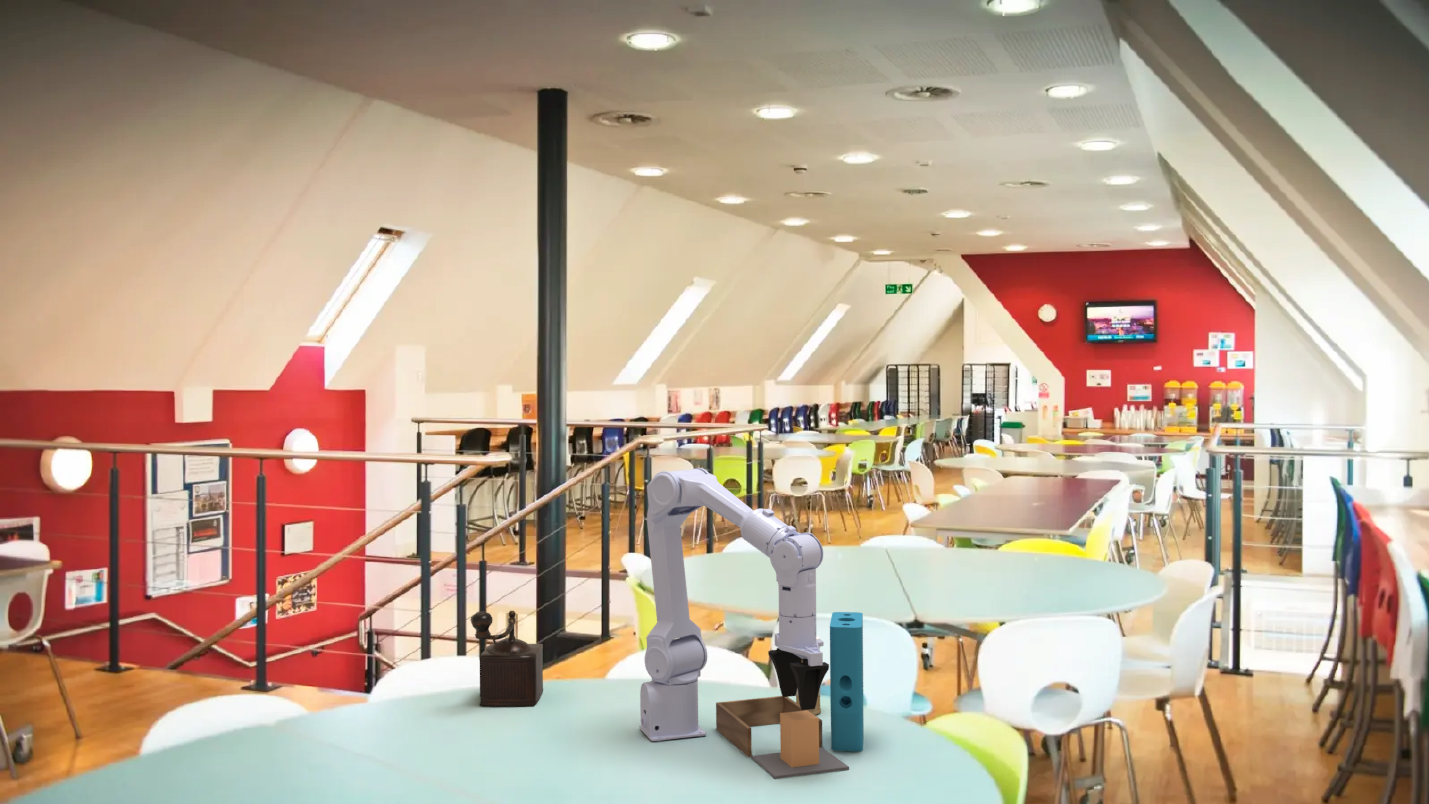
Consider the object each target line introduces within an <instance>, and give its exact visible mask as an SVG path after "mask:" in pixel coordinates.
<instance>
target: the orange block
mask: <svg viewBox="0 0 1429 804" xmlns="http://www.w3.org/2000/svg"><path fill="white" fill-rule="evenodd" d="M816 716H817V715H813V714H812V713H810V712H809V711H807V710H805V711H796V712H787V713H780V723H779V726H780V727H779V728H780V729H779V730H780V731H779V733H780V738H779V741H780V744H779V745H780V752H781V759H782V760H783V761H784V762H786V763H787V764H788V765H789V766H791V767H799V766H807V765H815V764H819V718H820V717H819V716H817V717H816Z"/></svg>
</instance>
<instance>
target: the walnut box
mask: <svg viewBox="0 0 1429 804" xmlns="http://www.w3.org/2000/svg"><path fill="white" fill-rule="evenodd" d="M796 711H805V710H802V709H801V707H800V705H799V704H797V703H796V701H794V700H793V699H791V698H790V697H783V696H782V695H778V696H768V697H758V698H748V699H739V700H738V699H737V700H727V701H719V702H716V703H715V716H716V717H715V722H716V723H715V726H716V728H715V730H717V731H718V732H719V733H720V734H721V735H722V736H723V737H724V738H726V739H727V741H728V742H730V743H731V744H732V745H733V746H735V747H736V748H737V749H738V750H739V751H741V753H743V755H745V756H746V757H747V758H751V756H753V754H752V752H753V751H752V727H758V726H766V725H767V726H768V725H775V724H776V725H777V724H780V713H787V712H796ZM807 711H808V710H807ZM810 713H811V712H810ZM813 715H814V714H813ZM815 716H816V717H818V716H817V715H815ZM818 718H819V748H821V747H823V720H822V719H821V718H820V717H818Z"/></svg>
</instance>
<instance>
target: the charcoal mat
mask: <svg viewBox="0 0 1429 804" xmlns="http://www.w3.org/2000/svg"><path fill="white" fill-rule="evenodd" d="M750 758H751V760H752V761H754V762H755V764H756V763H757V765H758V766H759V767H761V768H762V770H764V771H765V772H766V773H767V774H768V775H770V776H771V777H772V778H773V779H775V780H776V779H784V778H793V777H801V776H802V777H803V776H807V775H808V776H809V775H816V774H817V775H818V774H824V773H830V772H831V773H832V772H839V771H849V770H850V766H849V765H848V764H846V763H845V762H844V761H842V760H841V759H839V758H837V756H835V755H834V754H832V753H831V752H830V751H828V750H827V749H826V748H824V747H823V746H822V747H821V748H819V764H815V765H807V766H799V767H791V766H789V765H788V764H787V763H786V762H784V761H783V760H782V759H781V751H779V752H772V753H770V752H769V753H764V754H755V755H753V754H752V756H751V757H750Z"/></svg>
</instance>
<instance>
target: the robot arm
mask: <svg viewBox="0 0 1429 804" xmlns="http://www.w3.org/2000/svg"><path fill="white" fill-rule="evenodd" d="M646 493H647V501H648V509H647V514H646V524H647V525H646V526H647V532H648V544H649V555H650V564H651V565H650V566H651V573H652V574H651V575H652V582H653V593H654V605H655V614H656V623H655V625H654V626H653V627H652V629H651V630H650V631H649V633H648V634H647V636H646V637H645V639H646V649H645V655H644V666H645V670H646V671H647V674H648V675H649V677H650V678H651V680H649V681H645V682H643V683H641V686H640V691H639V692H640V694H639V695H640V700H639V701H640V704H639V705H640V726H639V729H640V730H641V731H642V732H643V734H644V735H646V737H647V738H648V739H649V740H650V741H651V742H658V741H659V742H660V741H667V740H674V739H675V740H676V739H683V738H684V739H686V738H695V737H702V736H703V737H704V736H706V735H707V731H705V730H704V729H703V728H702V727H701V726H700V725H699V678H700V677H701V675H702V674H701V671H702V670H704V668H705V667H706V664H707V662H708V650H707V646H706V644H705V642H704V641H703V637H702V631H701V628H700V627H699V626H698V625H697V624H696V623H695V622H693V620H691V618H690V609H689V599H688V598H689V597H688V588H687V581H686V579H687V578H686V570H685V559H684V558H685V557H684V550H683V541H682V531H681V527H682V525H683V523H684V522H685V521H686V520H687V518H688V517H689V516H690V515H691V514H692V513H694V512H696V511H697V510H699V509H701V508H702V507H706V508H708V509H710V510H711V511H713V512H714V513H716V514H717V515H719V516H721V517H722V518H723V519H725V520H726V521H729V522H730V523H731V524H733V525H735V526H737V527H738V528H739V529H740V535H741V538H742V540H744V541H746V543H748V544H750V545H751V546H753V547H754V548H755V549H756V550H758V551H760V552H761V553H763V554H764V555H765V556H766V557H768V558H769V560H770V564H771V566H772V568H773V569H774V571H775V577H776V578H775V579H776V582H777V585H778V632H777V633H776V632H775V633H774V646H775V647H776V649H770V650H768V651H767V653H768V656H769V658H770V660H771V661H772V664H773V666H774V670H775V672H776V677H777V680H778V686H779V690H780V693H781V696H783V697H789V698H790V697H796V693H797V688H798V697H799V704H800V707H801V709H802V710H810V709H815V707H816V703H817V699H818V694H819V690H820V691H821V686H822V682H823V681H824V678H825V676H826V675H827V673H828V671H830V663H827V662H826V661H824V660H823V659H824V658H823V657H824V656H823V655H824V654H823V651H821V649H820V650H819V647H820V648H821V647H823V646H824V643H825V642H824V641H823V640H821V639H820V640H819V639H816V636H817V568H819V567H820V565H822V562H823V561H824V560H823V559H824V549H823V545H822V543H821V542H820V540H819V539H818V538H817V537H816V536H815V535H814V533H811V532H798V531H797V528H796V527H794V526H793V525H788V524H786V523H785V522H784V521H782V520H781V519H780V518H777V517H776V516H775V511H774V510H772V509H770V508H761V507H760V508H756V509H754V510H753V509H752V508H751V507H750V506H749V505H747V504H746V503H745V502H743V501H742V500H741V499H739V497H737V496H736V495H735V494H733V493H732V492H731V491H730V490H728V489H727V488H726V487H724V485H722V484H721V483H720V482H719V481H718V478H717V476H716V475H715V474H712V473H709V471H708V470H706V469H705V468H702V467H694V468H692V469H691V468H690V469H682V470H681V469H679V470H672V471H671V470H670V471H668V470H663V471H659V472H656V474H655V475H654V476H653V477H652V479H651V480H650V481H649V482H648V483H647V486H646ZM802 659H803V663H802ZM823 661H824V662H823Z"/></svg>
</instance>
